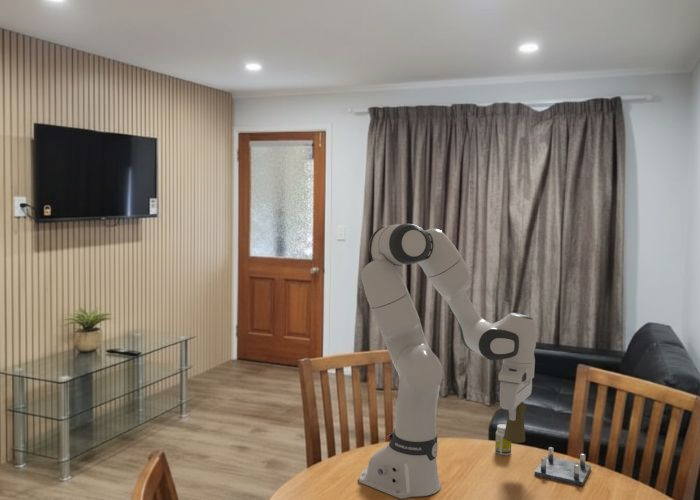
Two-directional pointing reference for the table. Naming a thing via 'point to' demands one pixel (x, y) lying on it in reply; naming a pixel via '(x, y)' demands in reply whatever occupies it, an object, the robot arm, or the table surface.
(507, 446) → the supplement bottle
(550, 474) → the standoff chassis
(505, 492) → the table surface
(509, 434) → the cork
